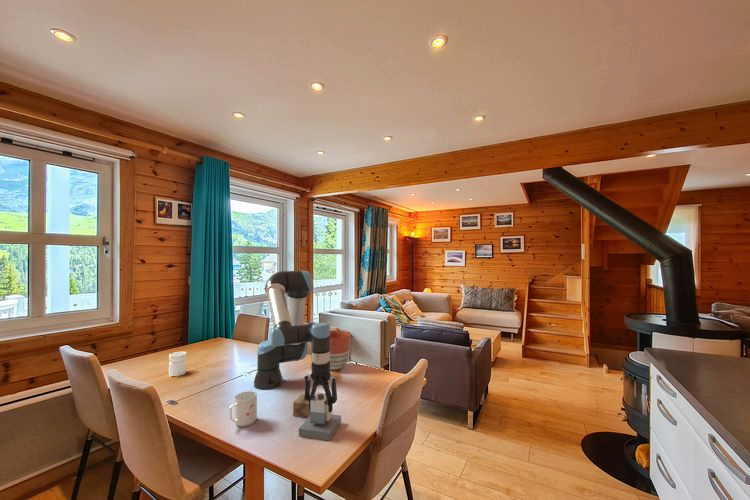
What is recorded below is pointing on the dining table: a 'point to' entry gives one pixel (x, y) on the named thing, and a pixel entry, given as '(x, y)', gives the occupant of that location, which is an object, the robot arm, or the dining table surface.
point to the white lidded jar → (177, 364)
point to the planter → (339, 348)
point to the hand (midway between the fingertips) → (320, 418)
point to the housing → (318, 409)
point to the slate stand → (320, 428)
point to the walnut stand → (301, 407)
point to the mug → (244, 408)
